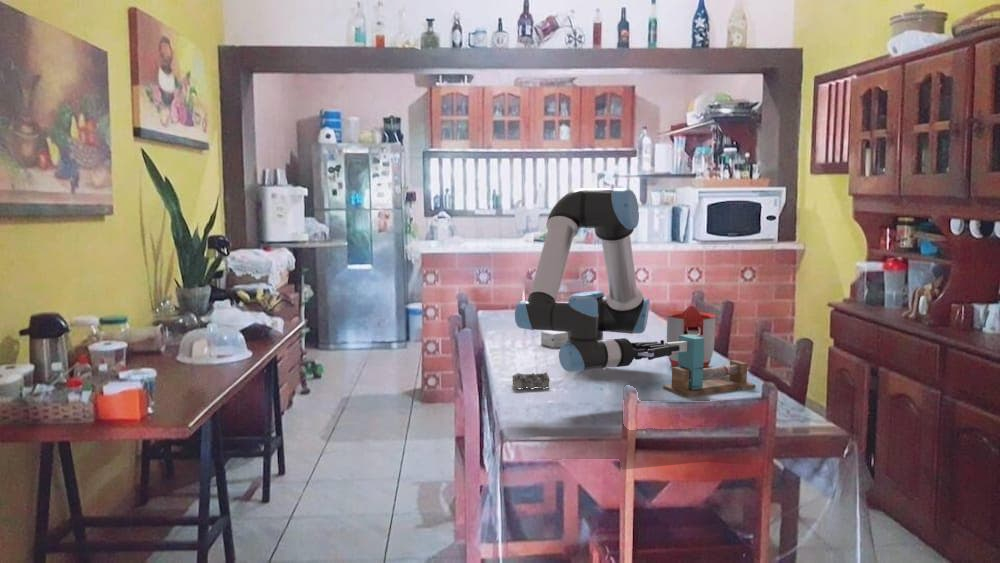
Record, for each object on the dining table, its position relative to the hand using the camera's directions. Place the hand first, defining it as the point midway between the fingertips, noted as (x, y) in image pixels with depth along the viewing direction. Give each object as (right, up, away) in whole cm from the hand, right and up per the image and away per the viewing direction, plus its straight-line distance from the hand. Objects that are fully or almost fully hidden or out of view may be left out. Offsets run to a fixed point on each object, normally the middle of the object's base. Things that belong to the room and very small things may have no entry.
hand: (685, 346), depth 211 cm
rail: (+8, -12, +5) cm, 16 cm away
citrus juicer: (+9, -10, +32) cm, 35 cm away
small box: (-32, -6, +68) cm, 75 cm away
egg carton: (-43, -13, +7) cm, 46 cm away
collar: (+2, -12, +2) cm, 12 cm away
